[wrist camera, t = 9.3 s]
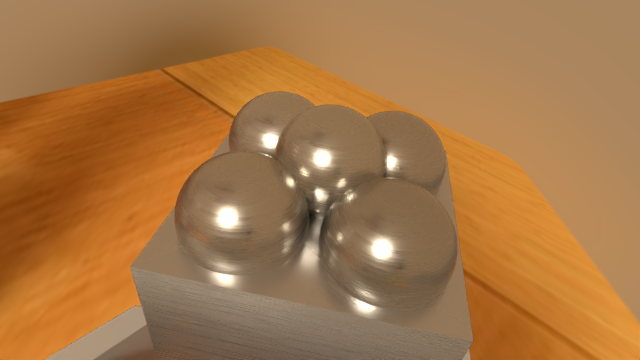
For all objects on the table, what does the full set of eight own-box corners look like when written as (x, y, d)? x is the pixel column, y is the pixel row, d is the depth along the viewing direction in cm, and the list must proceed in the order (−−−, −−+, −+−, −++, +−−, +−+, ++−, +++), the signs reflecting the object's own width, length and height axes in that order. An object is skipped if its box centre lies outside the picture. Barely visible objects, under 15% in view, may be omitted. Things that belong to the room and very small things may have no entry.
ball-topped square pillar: (201, 515, 14) (101, 167, 5) (248, 374, 18) (241, 41, 9) (344, 553, 13) (528, 252, 4) (358, 400, 17) (470, 78, 8)
